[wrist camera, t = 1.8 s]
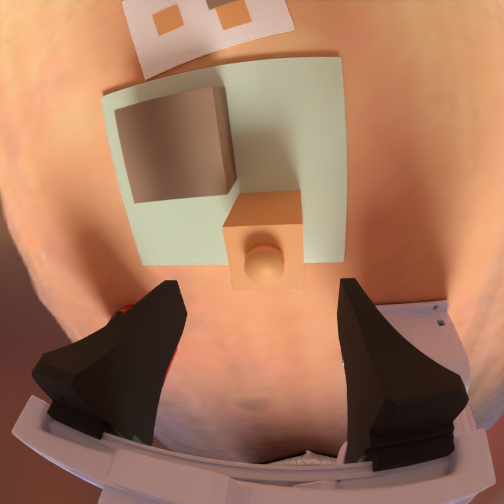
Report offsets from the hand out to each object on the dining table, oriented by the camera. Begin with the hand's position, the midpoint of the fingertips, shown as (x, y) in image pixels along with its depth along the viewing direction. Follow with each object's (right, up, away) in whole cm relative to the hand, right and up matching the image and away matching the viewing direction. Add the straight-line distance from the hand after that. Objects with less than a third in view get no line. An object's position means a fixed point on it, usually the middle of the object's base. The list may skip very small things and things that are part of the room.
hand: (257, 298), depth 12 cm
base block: (-5, +9, +5) cm, 11 cm away
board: (-2, +7, +6) cm, 10 cm away
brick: (+1, +4, +7) cm, 8 cm away
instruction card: (-3, +17, 0) cm, 17 cm away
